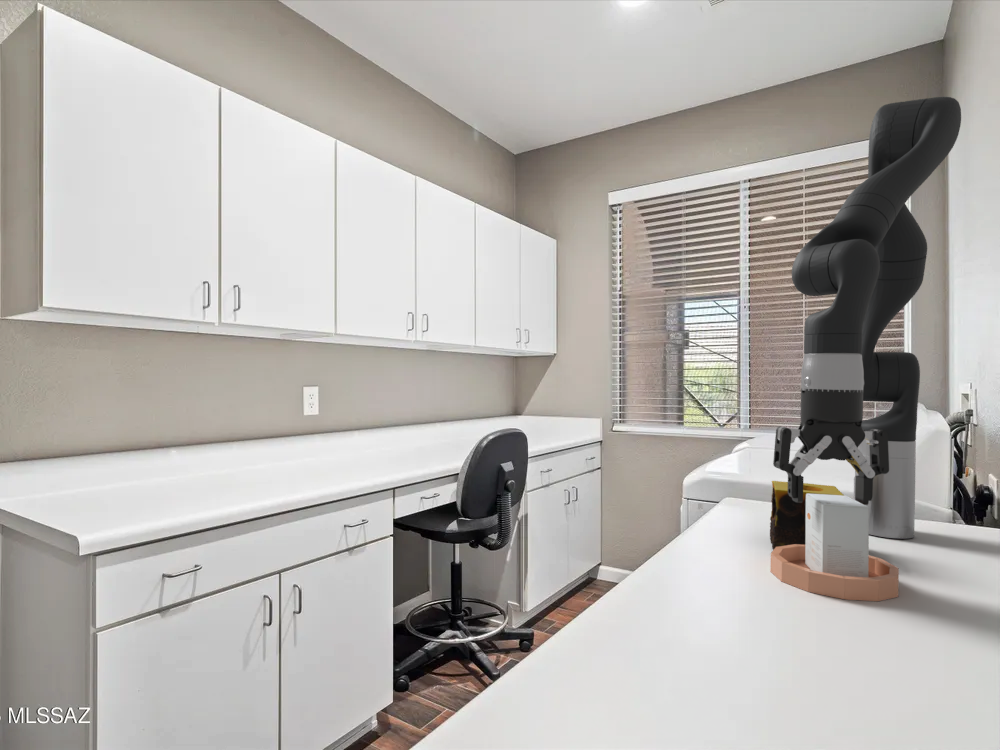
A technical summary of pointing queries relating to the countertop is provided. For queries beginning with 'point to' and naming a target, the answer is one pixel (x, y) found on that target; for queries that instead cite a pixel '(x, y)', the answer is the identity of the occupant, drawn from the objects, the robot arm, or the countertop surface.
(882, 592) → the round tray
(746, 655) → the countertop surface
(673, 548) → the countertop surface
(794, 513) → the yellow and black cube
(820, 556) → the small box
